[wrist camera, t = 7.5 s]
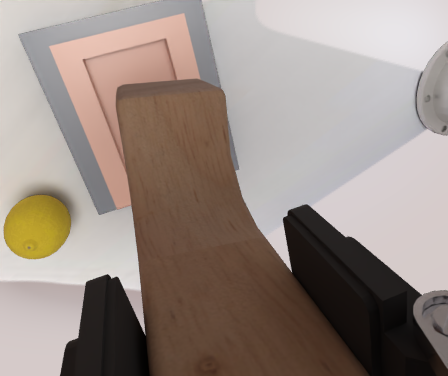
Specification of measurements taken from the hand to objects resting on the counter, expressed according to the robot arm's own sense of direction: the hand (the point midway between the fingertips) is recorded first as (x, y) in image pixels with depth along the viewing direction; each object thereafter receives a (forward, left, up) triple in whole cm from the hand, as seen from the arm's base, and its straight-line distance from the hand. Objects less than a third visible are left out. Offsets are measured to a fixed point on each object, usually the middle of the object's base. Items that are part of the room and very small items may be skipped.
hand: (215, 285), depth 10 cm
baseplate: (0, 0, -29) cm, 29 cm away
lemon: (+13, +7, -29) cm, 33 cm away
